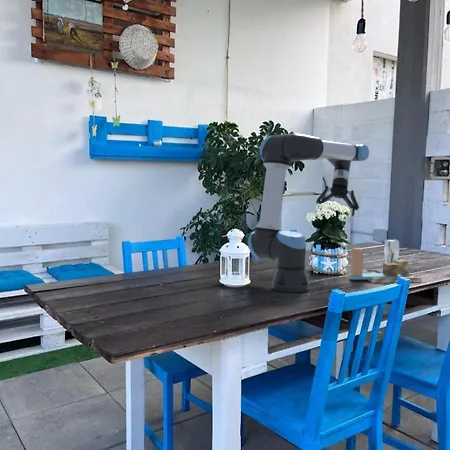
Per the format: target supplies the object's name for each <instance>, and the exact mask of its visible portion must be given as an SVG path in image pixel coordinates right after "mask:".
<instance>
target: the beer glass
mask: <svg viewBox="0 0 450 450" xmlns="http://www.w3.org/2000/svg"><path fill="white" fill-rule="evenodd" d="M383 246H384V247H383V251H384V252H383V253H384V259H385V262H384V263H392V260H396V259H399V253H400V240H397V239H384V245H383Z"/></svg>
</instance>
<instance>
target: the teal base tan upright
mask: <svg viewBox="0 0 450 450" xmlns="http://www.w3.org/2000/svg"><path fill="white" fill-rule="evenodd" d="M350 252H351V253H350V272H349V273H348V277H349V278H350V279H352V280H367V279H372V278H398V277H402V276H401V275H399V274H398V276H386V275H384V274H383V273H362V271H363V268H364V267H363V266H364V263H363V261H364V248H361V247H351V250H350Z"/></svg>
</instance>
